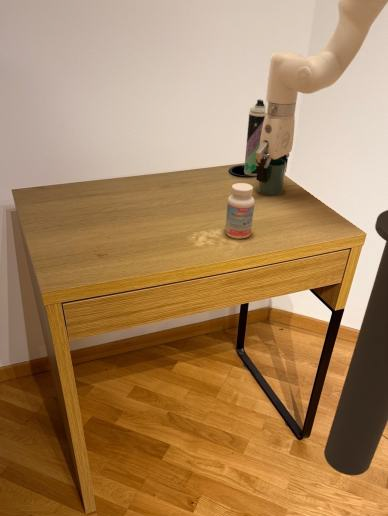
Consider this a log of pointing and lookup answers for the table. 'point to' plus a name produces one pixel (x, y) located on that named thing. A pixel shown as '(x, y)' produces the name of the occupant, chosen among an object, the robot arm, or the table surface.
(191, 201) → the table surface
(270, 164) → the cup
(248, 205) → the pill bottle
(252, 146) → the spray can
